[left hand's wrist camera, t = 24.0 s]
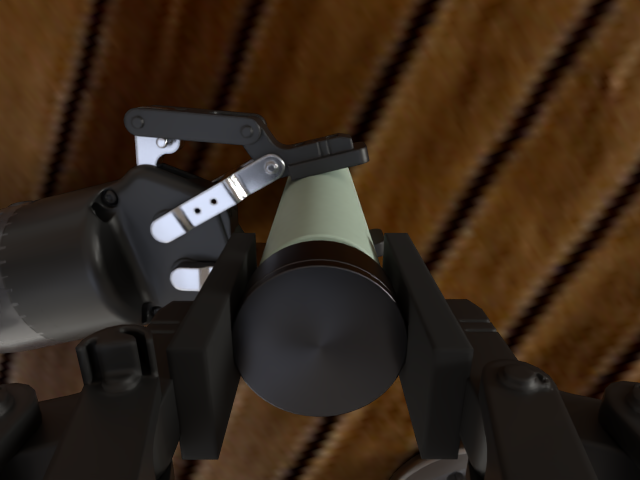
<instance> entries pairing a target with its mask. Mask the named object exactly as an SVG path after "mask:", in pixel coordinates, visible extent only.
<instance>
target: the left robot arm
mask: <svg viewBox="0 0 640 480" xmlns="http://www.w3.org/2000/svg"><path fill="white" fill-rule="evenodd" d="M256 269H257V255H256V237H255V233H232V235H231V237H230V238H229V240H228V242H227V244H226V245H225V247H224V249H223V251H222V252H221V254H220V256H219V258H218V259H217V261H216V263H215V265H214V266H213V268H212V270H211V272H210V273H209V275H208V277H207V279H206V280H205V282H204V284H203V286H202V287H201V289H200V291H199V293H198V294H197V296H196V298H195V300H194V301H172V302H170V303H169V304H167V305H166V306H164V307H163V308H161V309H160V310H158V312H157V313H156V314H155V316H154V317H153V319H152V320H151V322H150V324H148V326H147V327H144V326H140V325H136V324H122V325H117V326H112V327H107V328H105V329H102V330H99V331H97V332H94V333H92V334H91V335H89V336H88V337H86V338H84V339H83V340H82V341H81V342H80V343H79V344H78V345H77V347H76V352H77V357H78V361H79V365H80V369H81V374H82V378H83V382H84V387H83V389H82V391H81V392H80V393H76V394H73V395H69V396H64V397H59V398H54V399H50V400H45V401H40V402H38V400H37V396H36V393H35V390H34V389H33V388H32V387H30V386H29V385H26V384H20V383H12V384H2V385H0V480H174V478H175V476H174V469H173V462H172V457H173V455H174V452H175V449H176V447H177V444H178V442H180V448H181V455H182V459H218V458H219V454H220V451H221V447H222V443H223V439H224V436H225V432H226V428H227V425H228V421H229V417H230V413H231V410H232V406H233V402H234V398H235V395H236V391H237V387H238V383H239V380H240V376H241V375H240V373H239V371H238V369H237V367H236V364H235V362H234V358H233V347H232V327H233V322H234V320H235V317H236V314H237V311H238V308H239V306H240V303H241V300H242V297H243V294H244V292H245V289H246V286H247V283H248V282H249V280H250V278H251V276H252V274H253V273H254V272H255V270H256ZM382 269H383V270H384V271H385V272H386V274H387V276H388V277H389V279H390V281H391V283H392V285H393V288H394V290H395V293H396V296H397V299H398V301H399V304H400V307H401V310H402V313H403V316H404V318H405V322H406V326H407V331H408V343H407V355H406V359H405V362H404V365H403V368H402V370H401V371H400V373H399V377H400V381H401V384H402V388H403V392H404V396H405V399H406V403H407V407H408V411H409V414H410V418H411V422H412V425H413V429H414V433H415V437H416V440H417V444H418V448H419V452H420V454H418V455H416V456H414V457H413V458H411V459H410V460H409V461H407V462H406V463H404V464H403V465H402V466H401V467H400V468H399V469H398V470H397V471H396V472H395V473H394V474H393V475H392V477H391V478H390V479H389V480H640V383H638V382H628V381H620V382H614V383H611V384H610V385H609V386H608V387H606V388H605V391H604V395H603V398H602V400H599V399H595V398H590V397H585V396H580V395H575V394H571V393H567V392H563V391H560V390H558V388H557V386H556V384H555V383H554V381H553V380H552V379H551V377H550V376H549V375H547V374H546V373H545V372H543V371H542V370H541V369H539V368H537V367H535V366H533V365H531V364H528V363H526V362H522V361H518V360H517V358H516V357H515V355H514V354H513V353H512V351H511V350H510V348H509V347H508V346H507V344H506V343H505V341H504V340H503V338H502V337H501V336H500V334H499V333H498V332H496V329H495V327H494V326H493V324H492V323H491V322H490V320H489V319H488V317H487V316H486V314H485V313H484V312H483V310H482V309H481V308H479V307H478V306H476V305H475V304H473V303H472V302H470V301H469V300H467V299H445V298H444V297H443V295H442V293H441V291H440V290H439V288H438V286H437V284H436V283H435V281H434V279H433V277H432V276H431V274H430V272H429V270H428V269H427V267H426V265H425V263H424V262H423V260H422V258H421V256H420V255H419V253H418V251H417V249H416V248H415V246H414V244H413V242H412V241H411V239H410V237H409V235H408V234H407V233H384V250H383V268H382Z"/></svg>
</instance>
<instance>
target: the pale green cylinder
mask: <svg viewBox="0 0 640 480" xmlns="http://www.w3.org/2000/svg"><path fill="white" fill-rule="evenodd" d="M312 240H326V241H335V242H339V243H344V244H346V245H349V246H352V247H355V248H357V249H358V250H360V251H362V252H364V253H365V254H367V255H368V256H370V257H371V258H372V259H374V260H375V261H376V262H377V263H378V264H379V265H380V263H379V260H378V257H377V254H376V251H375V248H374V245H373V242H372V239H371V236H370V233H369V230H368V227H367V224H366V220H365V217H364V214H363V211H362V208H361V205H360V202H359V199H358V196H357V193H356V190H355V187H354V184H353V181H352V178H351V175H350V172H349V169H348V168H344V169H339V170H335V171H331V172H327V173H323V174H319V175H315V176H309V177H306V178H302V179H298V180H294V181H292V180H291V177H290V176H288V179H287V182H286V185H285V188H284V191H283V194H282V197H281V200H280V203H279V206H278V209H277V213H276V216H275V219H274V222H273V225H272V228H271V231H270V234H269V237H268V240H267V243H266V246H265V249H264V252H263V255H262V258H261V261H260V264H261V263H262V262H263V261H264V260H266V259H267V258H268V257H270V256H271V255H272V254H274V253H275V252H277V251H279V250H281V249H283V248H285V247H287V246H290V245H293V244H296V243H300V242H305V241H312ZM260 264H259V266H260Z"/></svg>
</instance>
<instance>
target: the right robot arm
mask: <svg viewBox="0 0 640 480" xmlns="http://www.w3.org/2000/svg"><path fill="white" fill-rule="evenodd" d="M124 124H125V127H126V128H127V130H128V131H129V132H130V133H131V134H133V135H135V146H136V161H137V166H135V167H133V168H131V169H130V170H129V171H128V172H127V173H126V174H125V175H124V176H123V177H122V178H121V179H119V180H116V181H112V182H108V183H104V184H100V185H96V186H92V187H88V188H84V189H80V190H76V191H72V192H67V193H63V194H59V195H55V196H51V197H47V198H43V199H39V200H35V201H24V202H18V203H14V204H11V205H10V206H8V207H7V208H3V209H0V353H12V352H21V351H27V350H33V349H38V348H42V347H47V346H51V345H56V344H60V343H65V342H69V341H74V340H79V339H83V338H86V337H88V336H89V335H91V334H92V333H94V332H97V331H99V330H102V329H105V328H107V327H112V326H117V325H122V324H136V325H140V326H143V325H147V324H150V322H151V320H152V319H153V317H154V316H155V314H156V313H157V312H158V310H160V309H161V308H163V307H164V306H166V305H167V304H169V303H170V302H172V301H194V300H195V298H196V296H197V294H198V293H199V291H200V289H201V287H202V286H203V284H204V282H205V280H206V279H207V277H208V275H209V273H210V272H211V270H212V268H213V266H214V265H215V263H216V261H217V259H218V258H219V256H220V254H221V252H222V251H223V249H224V247H225V245H226V244H227V242H228V240H229V238H230V237H231V235H232V233H244V232H243V230H242V228H241V227H240V225H239V223H238V208H237V205H236V204H237V203H239V202H240V201H242V200H243V199H245V198H246V197H247V196H249V195H250V194H252V193H254V192H256V191H257V190H259V189H261V188H263V187H265V186H266V185H268V184H270V183H272V182H274V181H275V180H277V179H279V178H283V177H287V176H290V177H291V180H292V181H294V180H298V179H302V178H306V177H309V176H315V175H319V174H323V173H327V172H331V171H335V170H339V169H344V168H348V167H352V166H356V165H360V164H364V163H366V162H368V161H369V156H368V151H367V146H366V144H365V143H364V142H356V143H352V138H351V137H350V135H348V134H342V133H337V134H333V135H329V136H325V137H321V138H316V139H312V140H308V141H304V142H300V143H296V144H292V145H284V144H282V143H280V142H278V141H277V140H276V139H275V138H274V136H273V135H272V133H271V132H270V130H269V129H268V127H267V124H266V121H265V119H264V118H263V117H262V116H261V115H259V114H254V113H242V112H230V111H219V110H207V109H195V108H184V107H172V106H161V105H153V106H145V107H139V108H133V109H130V110H129V111H128V112H127V113H126V114H125V117H124ZM186 140H187V141H199V142H211V143H223V144H235V145H243V147H244V148H245V149H246V151H247V152H248V154H249V155H250V156H251V158H252V159H250V160H248V161H247V162H245V163H243V164H241V165H239V166H237V167H235V168H233V169H231V170H230V171H228V172H226V173H224V174H223V175H221V176H219V177H218V178H216V179H214V180H212V181H208V180H206V179H203V178H201V177H198V176H196V175H193V174H190V173H188V172H185V171H183V170H180V169H178V168H175V167H173V166H170V165H167V164H165V163H163V158H164V156H165V155H166V154H171V153H174V152H176V151H178V150H180V149H181V148H182V147H183V146H184V145H185V141H186ZM369 233H370V236H371V239H372V242H373V245H374V248H375V251H376V254H377V257H380V256H383V250H384V235H383V233H382V230H380V229H371V230H369ZM265 246H266V243H256V255H257V268H258V267H259V264H260V261H261V258H262V255H263V252H264V249H265Z"/></svg>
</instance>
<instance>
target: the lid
mask: <svg viewBox="0 0 640 480" xmlns="http://www.w3.org/2000/svg"><path fill="white" fill-rule="evenodd" d="M407 343H408V331H407V326H406V322H405V318H404V316H403V313H402V310H401V307H400V304H399V301H398V299H397V296H396V293H395V290H394V288H393V285H392V283H391V281H390V279H389V277H388V276H387V274H386V272H385V271H384V270H383V269H382V267H381V266H380V265H379V264H378V263H377V262H376V261H375V260H374V259H372V258H371V257H370V256H368V255H367V254H365V253H364V252H362V251H360V250H358V249H357V248H355V247H352V246H349V245H346V244H344V243H339V242H335V241H326V240H312V241H305V242H300V243H296V244H293V245H290V246H287V247H285V248H283V249H281V250H279V251H277V252H275V253H274V254H272V255H271V256H270V257H268V258H267V259H266V260H264V261H263V262H262V263H261V264H260V266H259V267H258V268H257V269H256V270H255V272H254V273H253V274H252V276H251V278H250V280H249V282H248V283H247V286H246V289H245V292H244V294H243V297H242V300H241V303H240V306H239V308H238V311H237V314H236V317H235V320H234V322H233V327H232V347H233V358H234V362H235V364H236V367H237V369H238V371H239V373H240V375H241V376H242V378H243V379H244V381H245V382H246V383H247V385H248V386H249V387H250V388H251V389H252V390H253V391H254V392H255V393H256V394H257V395H258V396H260V397H261V398H262V399H264V400H265V401H267V402H268V403H270V404H272V405H274V406H275V407H278V408H280V409H282V410H285V411H288V412H291V413H295V414H300V415H305V416H316V417H320V416H334V415H340V414H344V413H348V412H351V411H354V410H357V409H359V408H362V407H364V406H366V405H368V404H369V403H371V402H372V401H374V400H376V399H377V398H378V397H380V396H381V395H382V394H383V393H384V392H385V391H386V390H387V389H388V388H389V387H390V386H391V385H392V384H393V382H394V381H395V380H396V378H397V377H398V375H399V373H400V371H401V370H402V368H403V365H404V362H405V359H406V355H407Z"/></svg>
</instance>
